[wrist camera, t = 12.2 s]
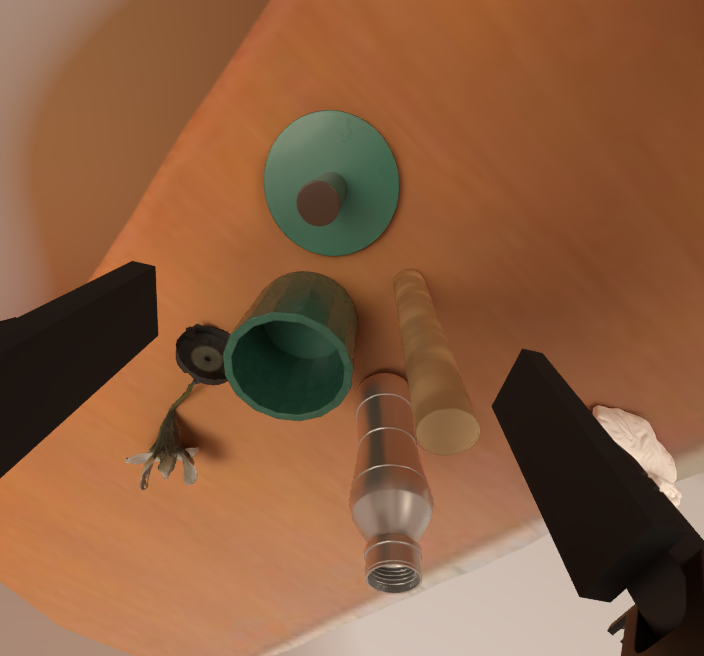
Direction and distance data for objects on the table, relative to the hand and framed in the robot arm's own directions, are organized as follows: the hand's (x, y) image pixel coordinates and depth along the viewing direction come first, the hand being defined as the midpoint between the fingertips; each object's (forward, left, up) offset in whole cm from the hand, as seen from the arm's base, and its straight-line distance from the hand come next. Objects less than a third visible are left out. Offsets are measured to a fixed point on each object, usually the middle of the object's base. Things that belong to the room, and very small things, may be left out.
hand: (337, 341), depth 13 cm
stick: (-5, +5, -22) cm, 23 cm away
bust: (-32, +21, -22) cm, 44 cm away
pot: (+4, +10, -22) cm, 24 cm away
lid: (+2, -3, -21) cm, 21 cm away
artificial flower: (+18, +23, -22) cm, 36 cm away
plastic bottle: (-5, +18, -22) cm, 29 cm away
